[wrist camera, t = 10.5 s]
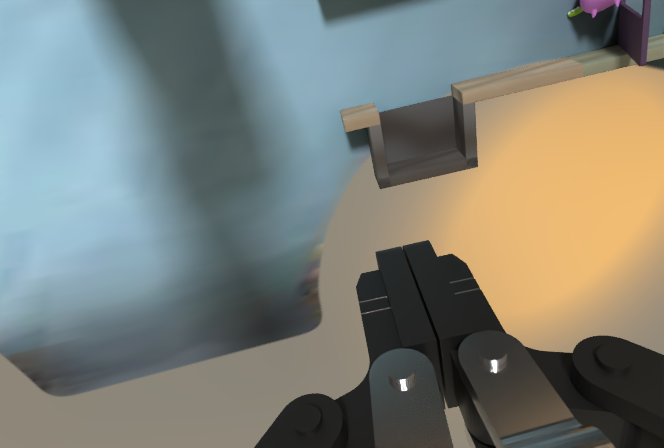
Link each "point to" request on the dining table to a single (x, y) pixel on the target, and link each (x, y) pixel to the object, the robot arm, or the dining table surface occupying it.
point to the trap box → (463, 116)
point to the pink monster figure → (624, 25)
